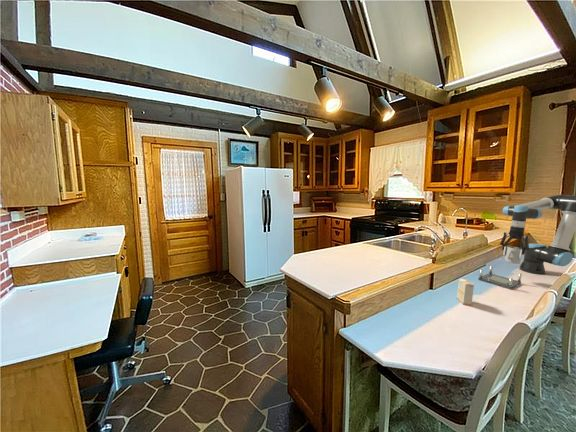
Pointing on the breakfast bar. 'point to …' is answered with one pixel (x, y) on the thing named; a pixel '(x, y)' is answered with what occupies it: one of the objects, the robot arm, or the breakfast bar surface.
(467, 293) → the supplement box
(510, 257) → the mug
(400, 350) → the breakfast bar surface
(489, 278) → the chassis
